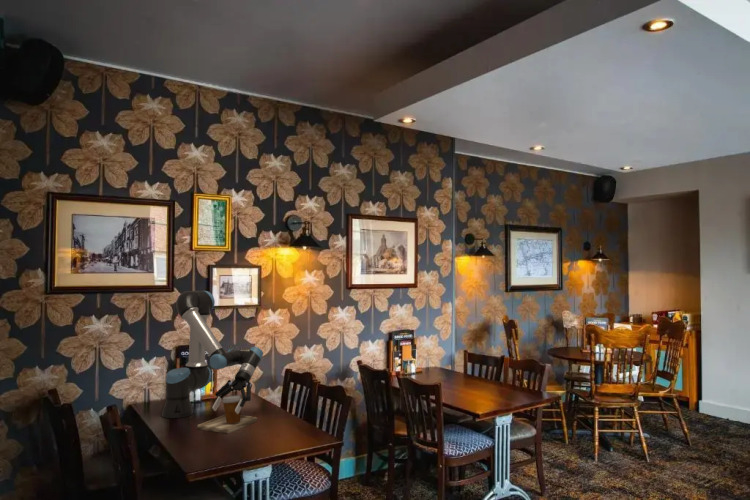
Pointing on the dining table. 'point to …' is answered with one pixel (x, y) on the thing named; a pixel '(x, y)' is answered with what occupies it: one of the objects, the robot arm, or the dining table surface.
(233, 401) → the disposable coffee cup
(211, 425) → the striped beige cloth
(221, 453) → the dining table surface
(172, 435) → the dining table surface
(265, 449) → the dining table surface
